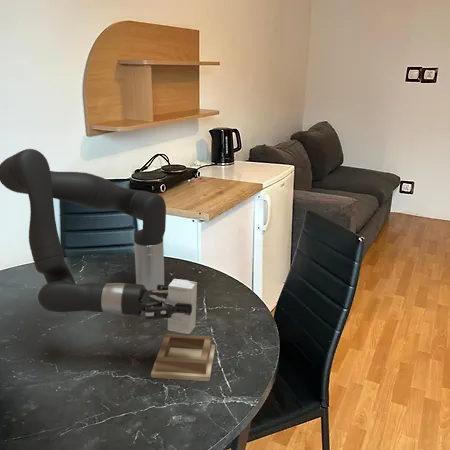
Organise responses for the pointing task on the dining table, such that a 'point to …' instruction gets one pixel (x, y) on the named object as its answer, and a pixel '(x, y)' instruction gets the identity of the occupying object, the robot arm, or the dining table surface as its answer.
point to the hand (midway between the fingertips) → (193, 303)
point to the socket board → (184, 358)
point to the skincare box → (184, 294)
